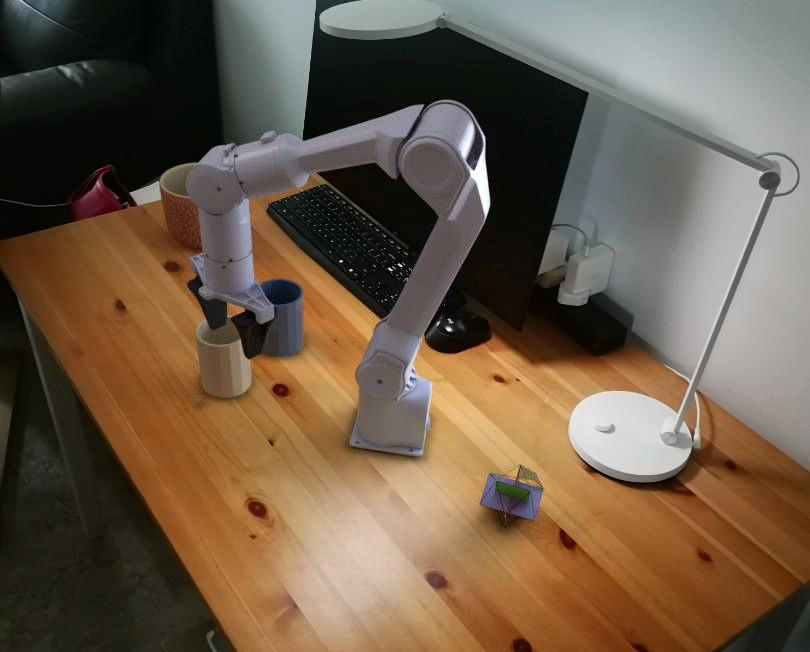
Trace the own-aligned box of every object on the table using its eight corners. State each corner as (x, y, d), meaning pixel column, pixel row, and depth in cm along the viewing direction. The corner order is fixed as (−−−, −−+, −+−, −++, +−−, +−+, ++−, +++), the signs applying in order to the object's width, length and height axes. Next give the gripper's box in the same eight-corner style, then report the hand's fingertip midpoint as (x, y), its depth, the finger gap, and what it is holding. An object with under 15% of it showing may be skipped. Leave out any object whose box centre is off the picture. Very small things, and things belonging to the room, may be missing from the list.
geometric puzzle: (529, 543, 96) (547, 476, 96) (471, 526, 98) (488, 459, 97) (533, 530, 103) (550, 468, 103) (479, 514, 105) (495, 452, 104)
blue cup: (308, 332, 127) (307, 282, 121) (297, 359, 122) (296, 309, 116) (264, 325, 127) (262, 275, 121) (252, 353, 122) (248, 302, 116)
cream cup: (257, 370, 119) (253, 319, 114) (243, 401, 114) (238, 349, 108) (210, 363, 120) (205, 312, 114) (195, 394, 115) (188, 342, 109)
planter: (256, 234, 146) (252, 177, 139) (206, 265, 138) (200, 206, 131) (202, 211, 151) (196, 154, 144) (151, 240, 143) (142, 181, 136)
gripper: (163, 234, 101) (176, 326, 109) (235, 289, 93) (243, 382, 102) (213, 216, 104) (222, 305, 113) (286, 267, 97) (290, 358, 106)
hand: (235, 340), depth 108 cm, fingers open, 7 cm apart
